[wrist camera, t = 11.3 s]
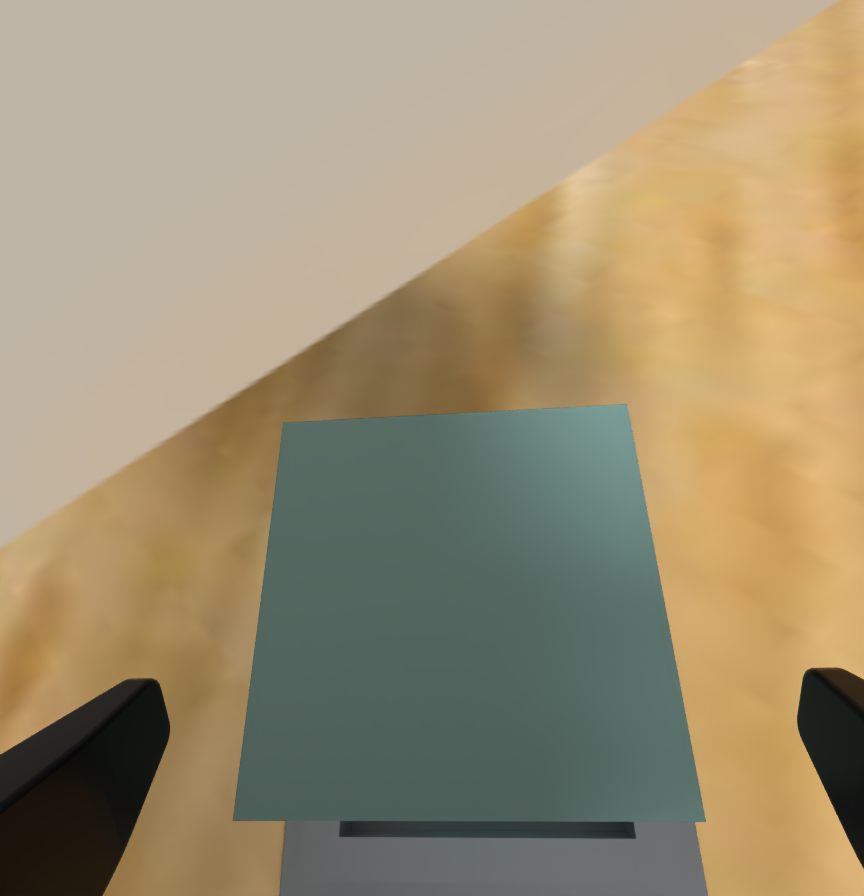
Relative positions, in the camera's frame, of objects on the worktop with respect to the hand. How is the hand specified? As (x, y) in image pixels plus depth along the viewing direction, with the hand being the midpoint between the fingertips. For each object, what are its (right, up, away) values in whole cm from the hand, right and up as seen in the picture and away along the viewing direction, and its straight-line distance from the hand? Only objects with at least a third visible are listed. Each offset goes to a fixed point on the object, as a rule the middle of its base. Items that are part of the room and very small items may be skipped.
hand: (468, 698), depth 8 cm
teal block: (+1, -4, +11) cm, 12 cm away
